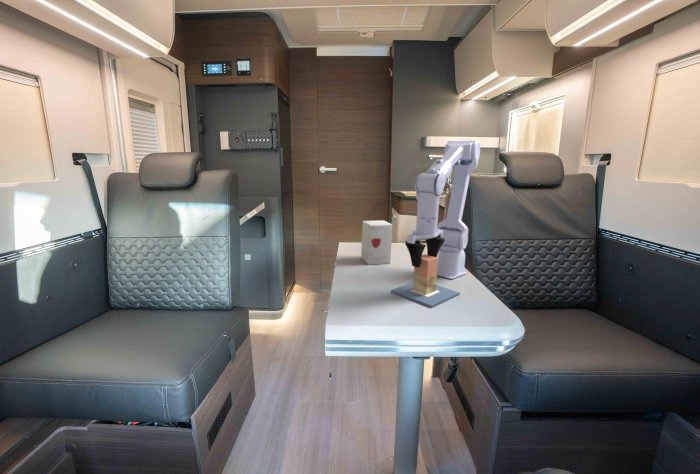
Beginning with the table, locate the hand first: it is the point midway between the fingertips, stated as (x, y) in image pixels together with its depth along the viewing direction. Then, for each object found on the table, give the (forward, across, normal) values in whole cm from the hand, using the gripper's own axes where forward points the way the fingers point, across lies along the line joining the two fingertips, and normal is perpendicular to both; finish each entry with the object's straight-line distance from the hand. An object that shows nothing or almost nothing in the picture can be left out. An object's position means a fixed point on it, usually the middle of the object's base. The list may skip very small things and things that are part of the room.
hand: (423, 263), depth 97 cm
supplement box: (+9, -12, -30) cm, 33 cm away
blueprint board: (+9, 0, +1) cm, 9 cm away
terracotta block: (+3, 0, +1) cm, 3 cm away
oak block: (+8, 0, +1) cm, 8 cm away
